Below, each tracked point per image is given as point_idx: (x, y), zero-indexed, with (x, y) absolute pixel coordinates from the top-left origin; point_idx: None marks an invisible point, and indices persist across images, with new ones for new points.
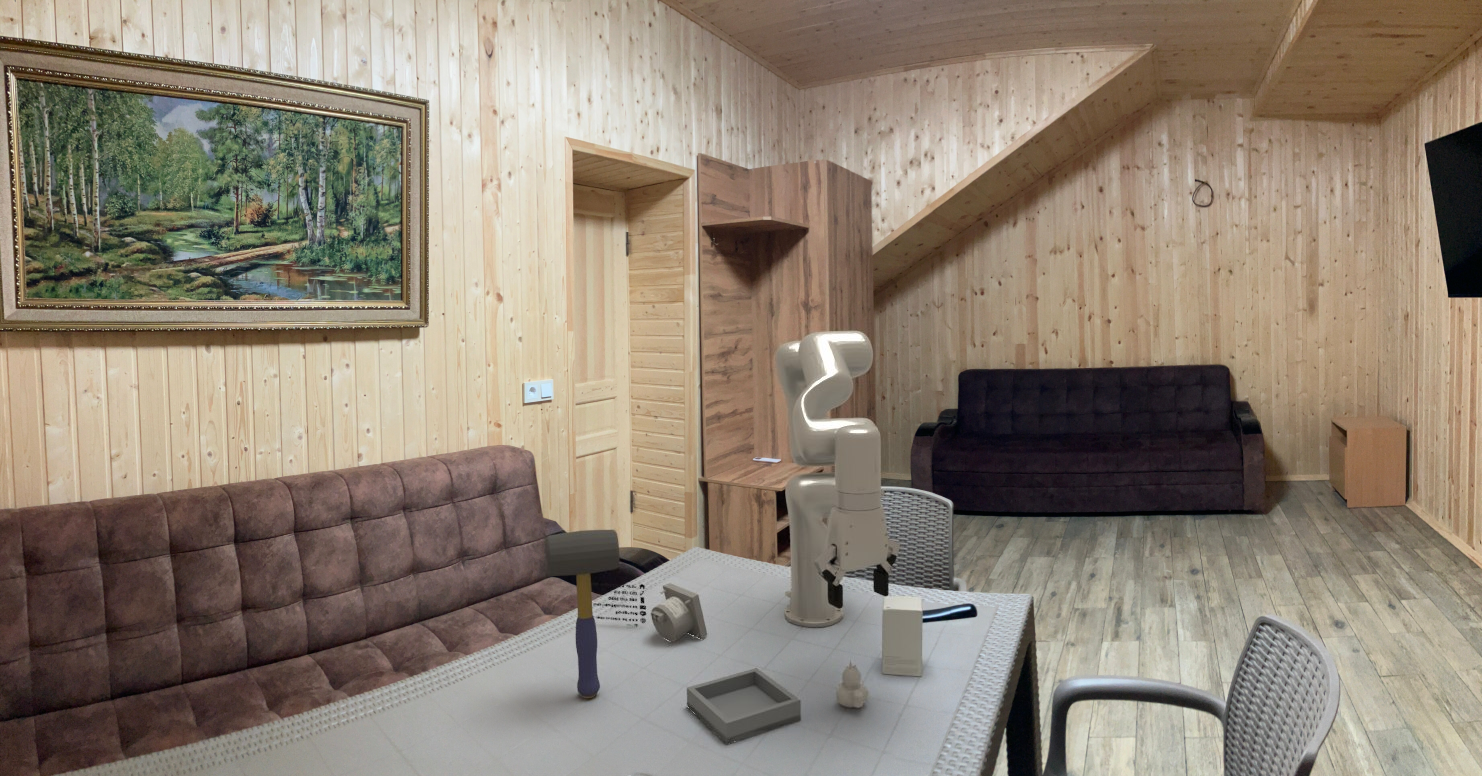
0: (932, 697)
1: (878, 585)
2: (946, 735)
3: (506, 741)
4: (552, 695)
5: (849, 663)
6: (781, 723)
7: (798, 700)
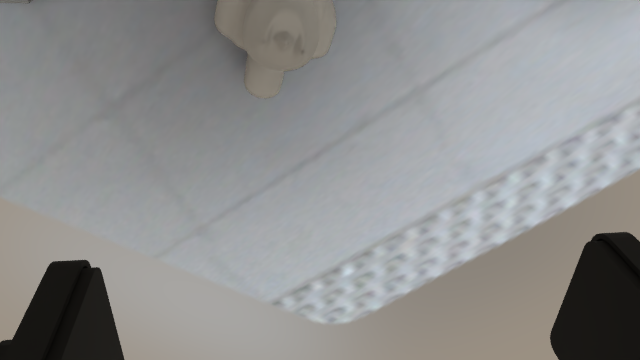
0: (510, 99)
1: (612, 340)
2: (376, 244)
3: None
4: None
5: (281, 40)
6: None
7: (18, 1)
